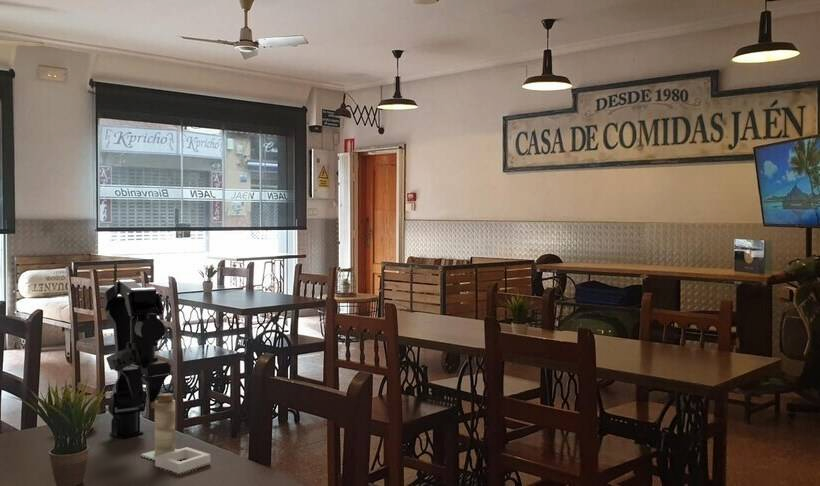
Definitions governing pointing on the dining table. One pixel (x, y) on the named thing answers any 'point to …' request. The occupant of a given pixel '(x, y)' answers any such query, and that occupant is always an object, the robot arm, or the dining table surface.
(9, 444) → the dining table surface
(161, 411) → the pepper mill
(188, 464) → the pocket holder
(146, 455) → the rubber mat
